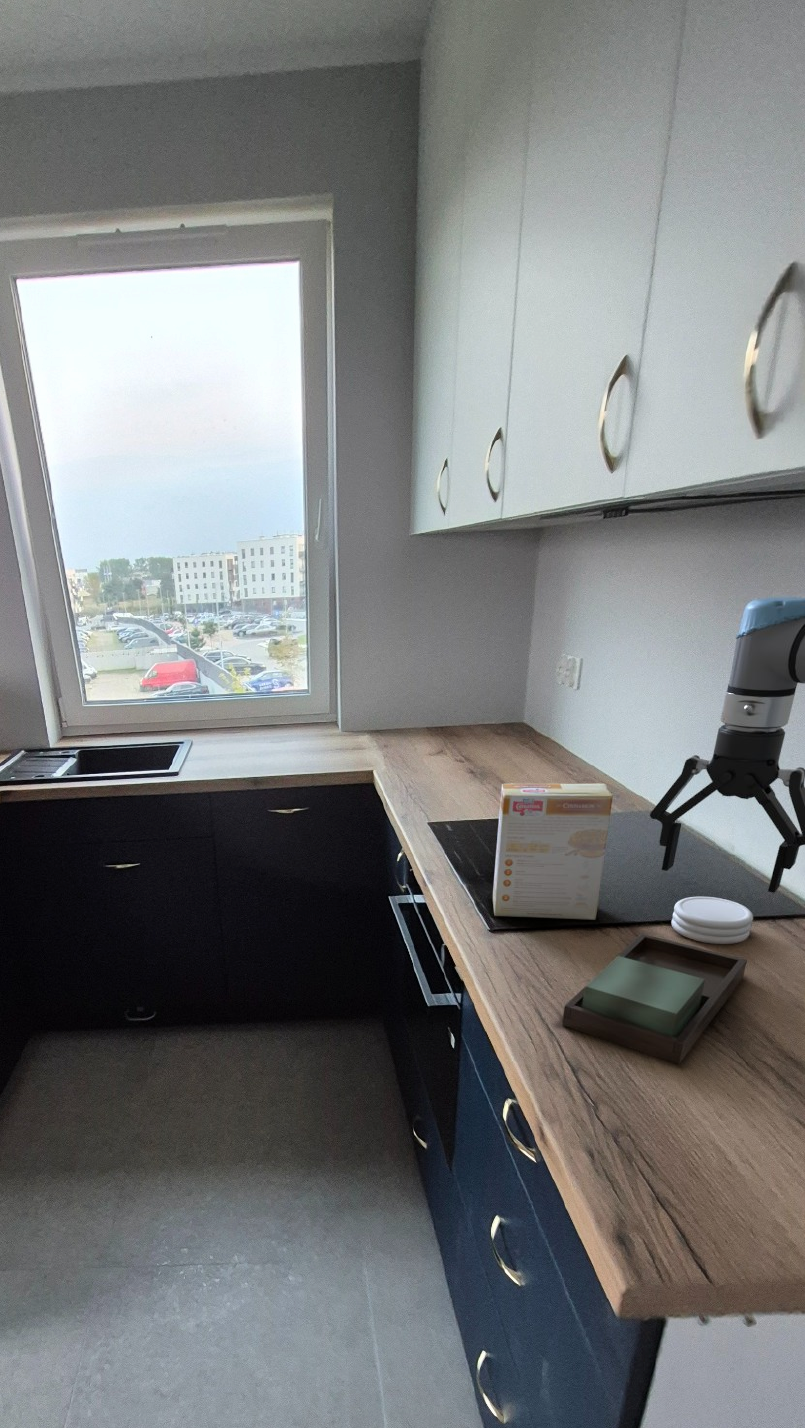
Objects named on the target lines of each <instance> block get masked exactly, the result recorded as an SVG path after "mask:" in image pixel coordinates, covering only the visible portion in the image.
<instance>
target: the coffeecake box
mask: <svg viewBox="0 0 805 1428" xmlns="http://www.w3.org/2000/svg"><path fill="white" fill-rule="evenodd" d="M613 797H614V796H613V794H612V793H611V791H610V790H609V789H608V786H607V785H606V783H502V784H501V790H500V801H499V811H498V827H497V840H496V848H495V849H496V850H495V863H494V876H493V888H492V904H493V914H494V917H517V918H538V919H539V918H540V919H543V918H544V919H563V920H564V919H565V920H590V921H595V920H596V918H597V912H598V906H599V900H600V892H601V884H602V877H603V869H604V862H605V855H606V849H607V841H608V833H609V825H610V819H611V811H612V806H613V805H612V804H613Z"/></svg>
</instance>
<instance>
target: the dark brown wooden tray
mask: <svg viewBox="0 0 805 1428" xmlns="http://www.w3.org/2000/svg"><path fill="white" fill-rule="evenodd" d="M747 963H748V959H746V958H742V957H737V956H734V955H729V954H725V953H721V952H718V951H713V950H709V949H705V948H702V947H697V946H692V945H689V944H686V943H685V944H684V943H681V942H677V941H672V940H669V939H665V938H661V937H657V936H653V935H650V934H649V935H648V934H645V933H640V934H639V935H638V936H637V937H636V938H635V939H634V940H633V941H631V943H630V944H629V945H627V947H625V948H624V949H623V951H621V952H620V953H619V954H618V955H617V956H616V957H615V958H613V960H612V961H610V962H609V963H608V964H607V965H606V966H605V967H603V969H602V970H601V971H600V972H599V973H598V974H596V976H595V977H593V978H592V979H591V980H590V981H589V982H588V983H587V984H586V985H585V986H584V987H583V988H582V989H581V990H580V991H579V992H577V994H575V996H574V997H572V998H571V999H569V1001H568V1002H566V1004H565V1005H564V1008H563V1016H562V1022H561V1025H562V1026H563V1027H567V1028H570V1029H572V1030H576V1031H577V1032H581V1033H585V1034H587V1035H590V1036H593V1037H596V1038H599V1039H602V1040H604V1041H608V1042H610V1043H614V1044H617V1045H619V1046H622V1047H625V1048H628V1049H632V1050H634V1051H637V1052H640V1053H644V1054H647V1055H649V1056H653V1057H655V1058H659V1059H661V1060H664V1061H667V1062H670V1063H673V1064H676V1065H680V1063H681V1062H682V1061H683V1060H684V1059H685V1057H686V1056H687V1054H688V1052H690V1050H691V1049H692V1048H693V1046H694V1045H695V1043H696V1042H697V1041H698V1039H699V1038H700V1037H701V1035H703V1033H704V1031H705V1030H706V1028H707V1027H708V1026H709V1025H710V1023H711V1022H712V1021H713V1019H714V1018H715V1017H716V1015H717V1014H718V1013H719V1011H720V1009H721V1008H722V1007H723V1006H724V1004H725V1003H726V1001H727V1000H728V999H729V998H730V996H731V995H732V993H733V992H734V991H735V990H736V989H737V987H738V985H739V984H740V983H741V982H742V980H743V979H744V975H745V970H746V967H747Z"/></svg>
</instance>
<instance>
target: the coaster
mask: <svg viewBox="0 0 805 1428" xmlns="http://www.w3.org/2000/svg"><path fill="white" fill-rule="evenodd" d="M673 910H674V911H673V913H672V918H671V921H670V923H671V926H672V929H673V930H674V931H675V932H677V933H678V935H679V934H680V935H681V936H683V937H685V938H688V939H689V940H692V941H697V942H701V943H704V944H705V943H706V944H712V945H732V944H737V943H741V942H743V941H745V940H747V939H748V938H749V936H750V933H751V932H750V931H751V928H752V922H753V920H754V915H753V912H752V911H751V910H750V909H749V908H747V907H746V906H745V905H743V904H740V903H738V902H736V901H733V900H729V899H725V898H720V897H713V896H689V897H685V898H682V899H679V900H678V901H677V902H676V903H675V904H674V906H673Z"/></svg>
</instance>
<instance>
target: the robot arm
mask: <svg viewBox="0 0 805 1428" xmlns="http://www.w3.org/2000/svg"><path fill="white" fill-rule="evenodd" d="M735 639H736V640H735V648H734V653H733V660H732V665H731V670H730V676H729V680H728V684H727V689H726V692H725V695H724V701H723V706H722V711H721V715H720V721H721V723H722V725H721V726H720V727H718V730H717V735H716V740H715V745H714V750H713V755H712V758H711V759H710V760H709V759H708V760H707V759H703V758H701V757H700V756H699V755H696V754H694V755H692V756H691V757H689V758H687V759H686V760H685V761H684V765H683V768H682V771H681V774H680V775H679V776H678V777H677V778H676V780H675V781H674V782H673V784H672V785H671V786H670V787H669V789H668V790H667V791H666V793H665V794H664V795H663V796H662V797H661V798H660V800H659V801H658V803H657V804H656V805H655V807H653V809H652V810H651V812H650V813H649V817H650V819H652V820H656V821H659V822H660V823H661V830H660V836H659V840H658V842H659V846H662V847H665V850H664V854H663V860H662V865H661V871H666V872H667V871H669V870H670V869H671V868H672V867H674V865H675V858H676V853H677V849H678V843H679V839H680V833H681V829H682V822H677V820H679V819H680V818H681V817H683V816H684V815H685V814H686V813H688V812H690V810H692V809H693V808H695V807H696V806H697V805H698V804H700V803H702V801H704V800H705V799H707V798H708V797H709V796H711V795H712V794H713V793H715V792H716V791H717V792H718V793H719V794H720V795H721V796H722V797H737V798H739V799H743V800H749V799H753V798H755V800H756V802H757V803H758V804H759V805H760V806H761V807H762V809H763V810H764V812H765V813H766V814H767V816H768V817H769V819H770V820H771V822H772V823H773V825H774V826H775V828H776V830H777V831H778V832H779V834H780V836H781V837H782V839H783V842H782V843H780V845H779V846H778V850H777V854H776V858H775V862H774V865H773V869H772V874H771V878H770V882H769V886H768V889H767V892H768V893H773V894H775V893H776V891H777V890H778V889H780V886H781V882H782V881H781V880H782V879H783V875H784V869H785V870H791V869H792V868H793V867H794V866H795V864H796V861H797V857H798V854H799V850H800V847H801V846H805V768H804V767H796V768H794V769H791V768H790V769H788V768H787V769H785V768H784V769H783V768H780V765H779V762H780V757H781V753H782V748H783V745H784V740H785V735H786V731H785V729H784V728H783V727H785V726H787V725H788V724H789V720H790V716H791V712H792V707H793V704H794V699H795V696H796V694H795V693H796V690H797V687H798V684H805V597H795V596H793V597H791V596H788V597H785V596H782V597H781V596H780V597H779V596H778V597H763V598H756V599H753V600H751V601H750V602H749V603H747V604H746V606H745V607H744V611H743V615H742V617H741V622H740V625H739V629H738V633H737V634H736V637H735ZM703 770H705V771H706V773H707V774H708V777H709V778H710V780H711V782H710V783H708V784H707V785H706V786H704V787H703V788H702V789H701V790H699V791H698V792H697V793H696V794H694V795H693V796H691V797H690V798H689V799H688V800H686V801H685V802H684V803H682V804H681V805H680V806H678V807H676V809H674V810H673V811H672V812H668V811H667V810H668V809H669V808H670V806H671V805H672V804H673V803H674V802H675V801H676V799H677V798H678V796H679V795H680V794H681V793H682V791H683V790H684V789H685V788H686V786H687V785H688V784H689V783H690V782H691V780H692V779H693V778H694V777H695V776H697V775H699V774H700V773H701V772H702V771H703ZM778 779H780V780H781V781H782V784H783V786H784V787H787V788H788V793H789V798H790V801H791V803H792V807H793V809H794V813H795V817H796V819H797V822H798V825H799V829H800V831H799V829H798V828H797V827H796V825H795V824H794V822H793V820H792V819H791V817H790V816H789V814H788V813H787V812H786V810H785V808H784V807H783V805H782V804H781V802H780V801H779V799H778V798H777V796H776V793H775V791H774V789H773V788H772V787H771V784H773V783H774V782H775V781H776V780H778Z"/></svg>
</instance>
